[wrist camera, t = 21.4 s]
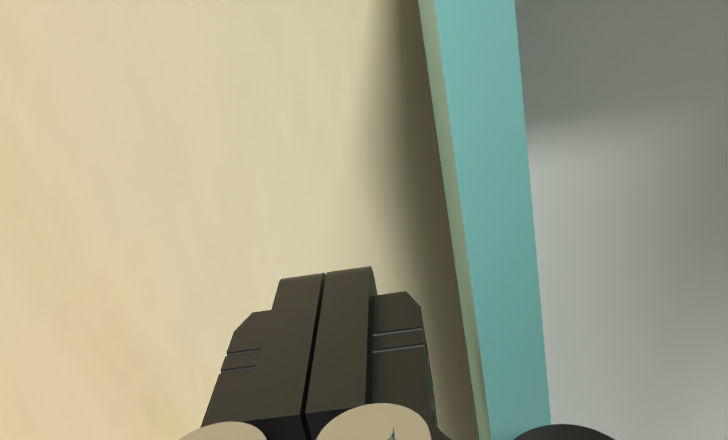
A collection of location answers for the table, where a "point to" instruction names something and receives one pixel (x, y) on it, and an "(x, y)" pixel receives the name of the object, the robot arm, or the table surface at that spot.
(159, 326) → the table surface
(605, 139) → the tray
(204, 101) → the table surface
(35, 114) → the table surface
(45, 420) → the table surface
